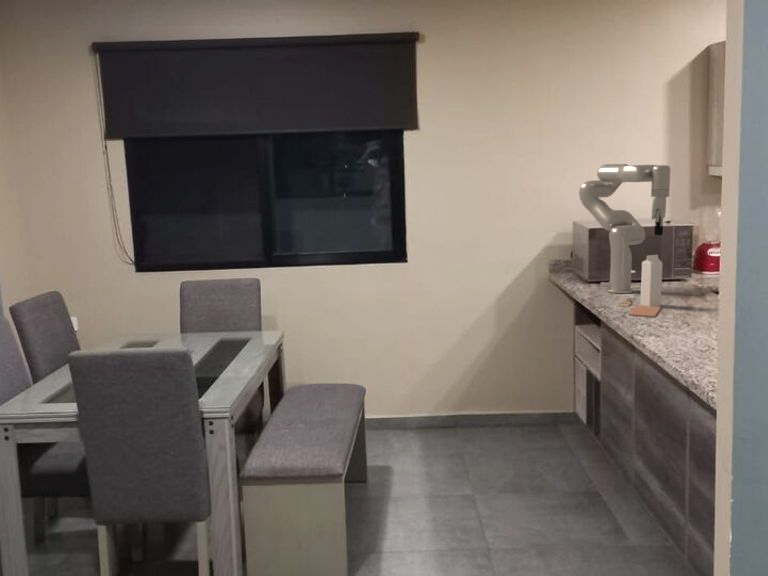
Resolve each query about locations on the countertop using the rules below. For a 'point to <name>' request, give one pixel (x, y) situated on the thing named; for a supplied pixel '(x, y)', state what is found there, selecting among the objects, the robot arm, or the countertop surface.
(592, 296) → the countertop surface
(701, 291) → the countertop surface
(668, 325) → the countertop surface
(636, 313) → the mat
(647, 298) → the milk
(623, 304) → the turner
